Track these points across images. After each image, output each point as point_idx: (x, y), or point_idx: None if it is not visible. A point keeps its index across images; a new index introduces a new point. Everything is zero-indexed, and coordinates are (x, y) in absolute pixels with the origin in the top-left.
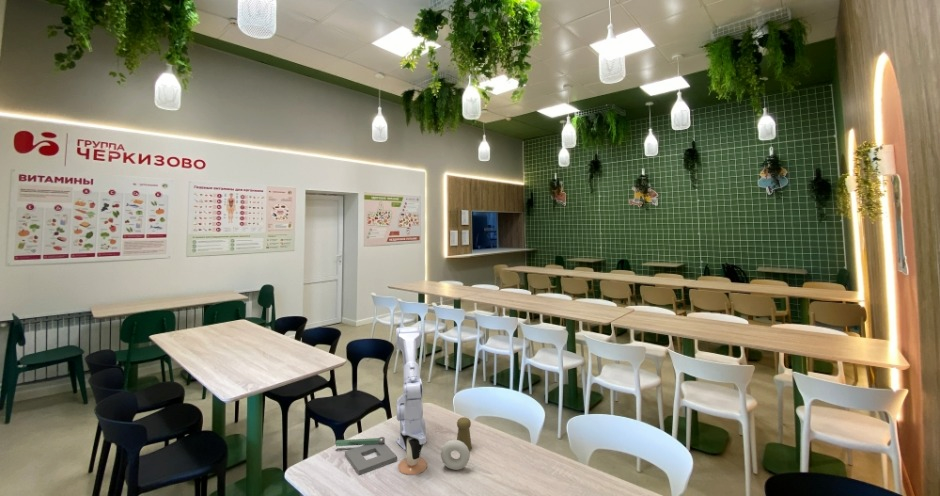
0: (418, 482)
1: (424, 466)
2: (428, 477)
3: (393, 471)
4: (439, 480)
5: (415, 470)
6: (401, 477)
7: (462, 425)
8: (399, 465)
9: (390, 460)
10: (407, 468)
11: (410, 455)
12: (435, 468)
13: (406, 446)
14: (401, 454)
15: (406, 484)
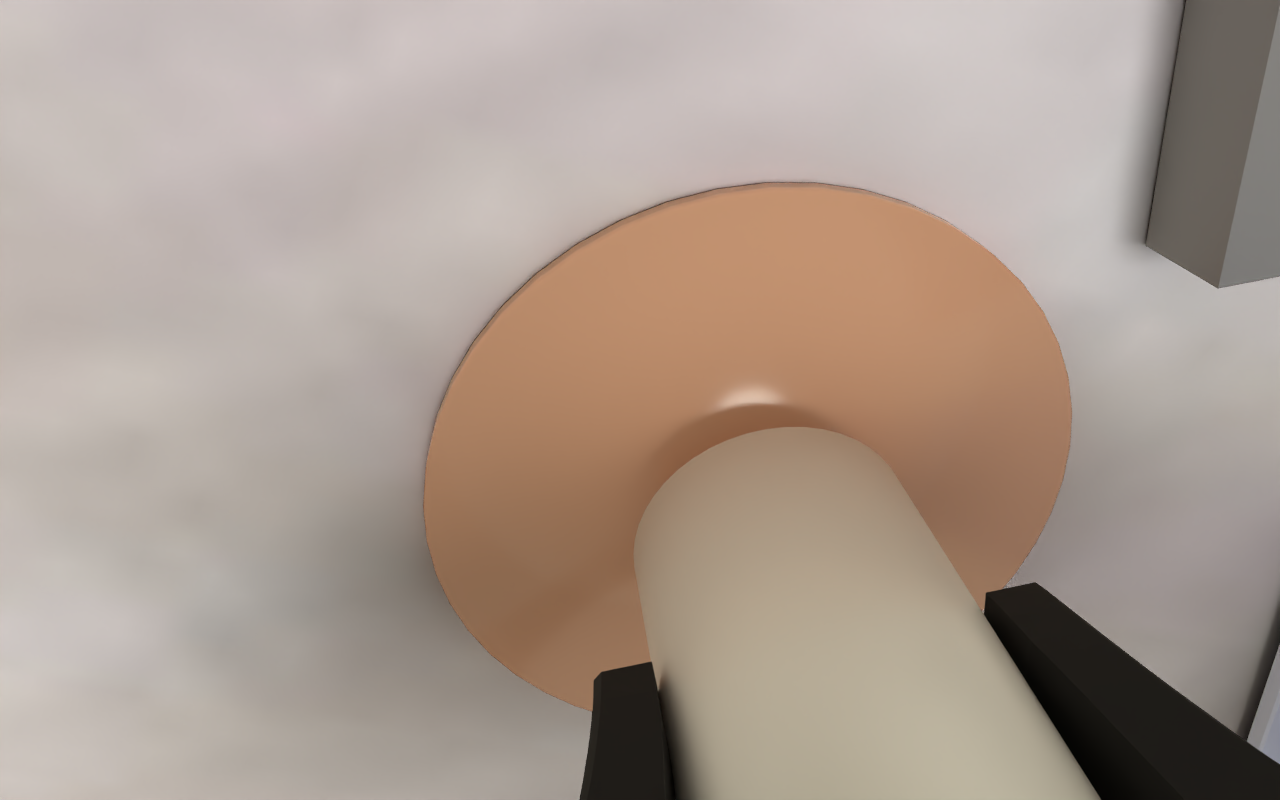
0: (106, 467)
1: (584, 673)
2: (240, 655)
3: (792, 27)
4: (92, 777)
5: (526, 514)
6: (433, 161)
7: None
8: (906, 244)
9: (1229, 69)
10: (683, 384)
11: (716, 690)
12: (478, 783)
13: (1134, 760)
14: (1274, 384)
15: (79, 202)
